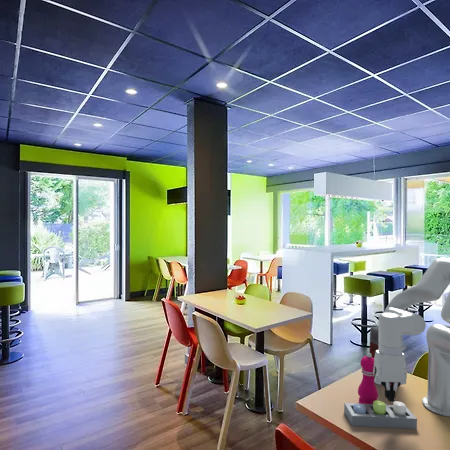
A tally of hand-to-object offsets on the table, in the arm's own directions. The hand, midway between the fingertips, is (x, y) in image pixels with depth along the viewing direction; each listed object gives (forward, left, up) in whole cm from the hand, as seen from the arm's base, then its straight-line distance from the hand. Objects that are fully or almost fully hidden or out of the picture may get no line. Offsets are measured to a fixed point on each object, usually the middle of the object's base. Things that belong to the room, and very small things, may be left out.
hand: (390, 399), depth 117 cm
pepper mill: (+4, -10, -8) cm, 13 cm away
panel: (+4, 0, -7) cm, 8 cm away
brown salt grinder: (-12, -31, -8) cm, 34 cm away
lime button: (+4, 0, -5) cm, 7 cm away
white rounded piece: (-3, 0, -5) cm, 6 cm away
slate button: (+11, 0, -7) cm, 13 cm away
